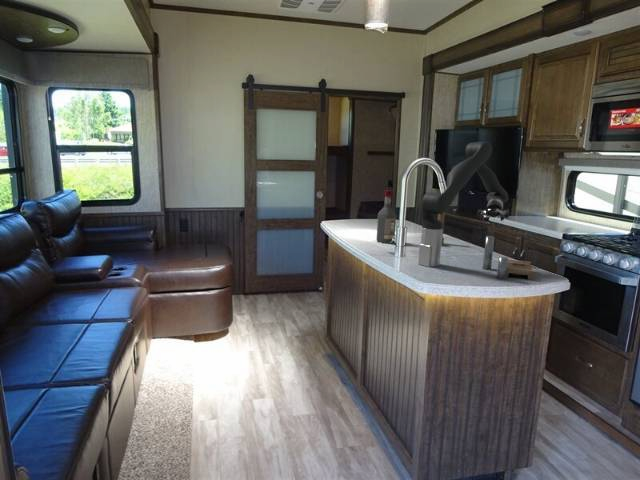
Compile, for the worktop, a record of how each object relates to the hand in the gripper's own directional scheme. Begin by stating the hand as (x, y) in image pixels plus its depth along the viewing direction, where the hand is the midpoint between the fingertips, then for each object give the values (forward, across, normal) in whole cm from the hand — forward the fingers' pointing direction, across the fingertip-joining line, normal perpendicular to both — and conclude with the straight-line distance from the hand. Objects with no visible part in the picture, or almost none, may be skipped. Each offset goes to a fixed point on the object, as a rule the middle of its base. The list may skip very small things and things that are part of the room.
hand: (491, 218), depth 211 cm
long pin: (+17, 0, +18) cm, 25 cm away
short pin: (+32, +7, +15) cm, 36 cm away
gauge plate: (+19, +13, +18) cm, 29 cm away
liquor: (-19, -59, +24) cm, 67 cm away
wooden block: (-29, -33, +28) cm, 52 cm away
